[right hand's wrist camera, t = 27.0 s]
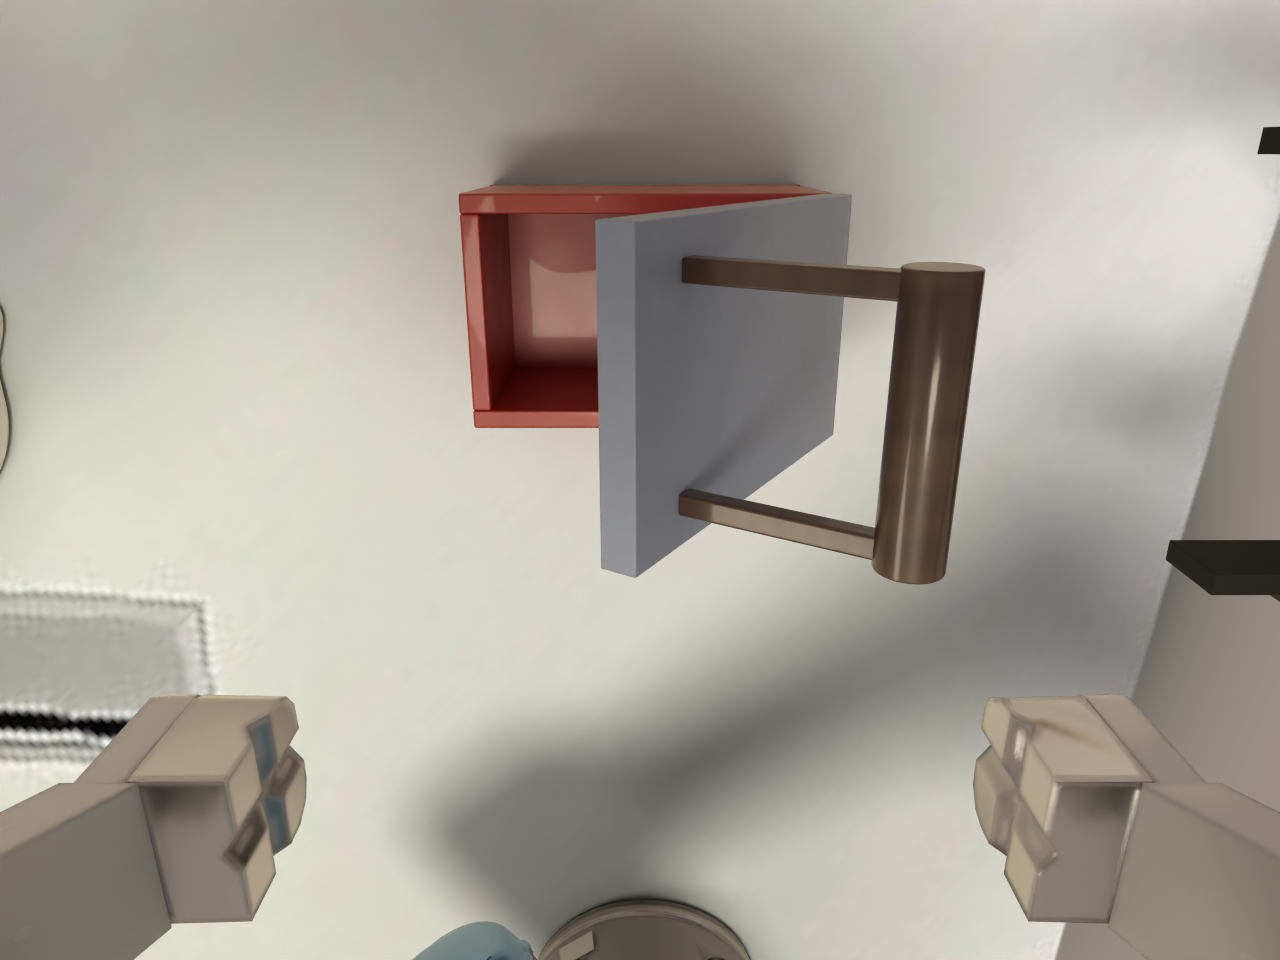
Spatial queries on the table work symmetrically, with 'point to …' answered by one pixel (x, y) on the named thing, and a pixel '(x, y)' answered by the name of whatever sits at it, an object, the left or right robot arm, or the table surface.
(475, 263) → the chest
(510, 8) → the table surface
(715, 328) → the lid
